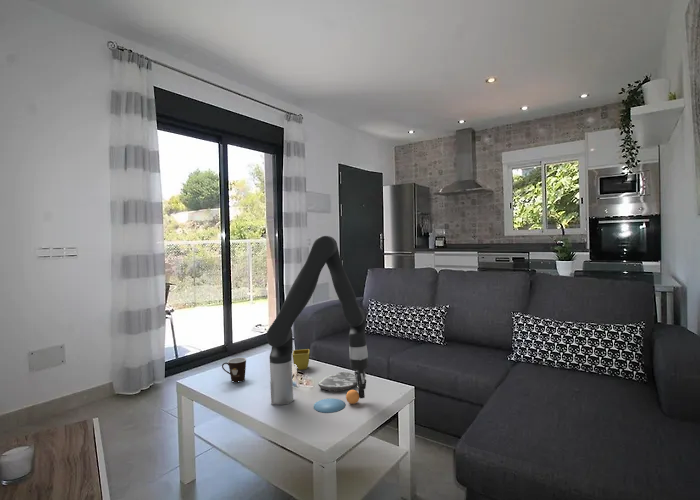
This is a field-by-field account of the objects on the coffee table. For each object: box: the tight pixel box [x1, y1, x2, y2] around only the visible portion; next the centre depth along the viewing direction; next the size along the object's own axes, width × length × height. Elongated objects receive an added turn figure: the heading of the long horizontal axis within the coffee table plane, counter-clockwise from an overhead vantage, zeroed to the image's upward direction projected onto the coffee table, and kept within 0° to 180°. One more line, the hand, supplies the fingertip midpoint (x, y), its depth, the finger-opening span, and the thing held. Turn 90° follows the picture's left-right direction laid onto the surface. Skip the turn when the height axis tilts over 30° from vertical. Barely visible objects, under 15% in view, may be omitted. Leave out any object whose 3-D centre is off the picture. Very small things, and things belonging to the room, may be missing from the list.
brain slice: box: [318, 371, 357, 393], centre depth 177 cm, size 20×17×3 cm
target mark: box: [313, 397, 346, 414], centre depth 155 cm, size 13×13×1 cm
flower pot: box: [292, 348, 310, 371], centre depth 203 cm, size 9×9×9 cm
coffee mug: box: [221, 357, 247, 383], centre depth 190 cm, size 12×9×10 cm
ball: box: [345, 389, 360, 405], centre depth 157 cm, size 6×6×6 cm
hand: (361, 397), depth 157 cm, fingers closed
